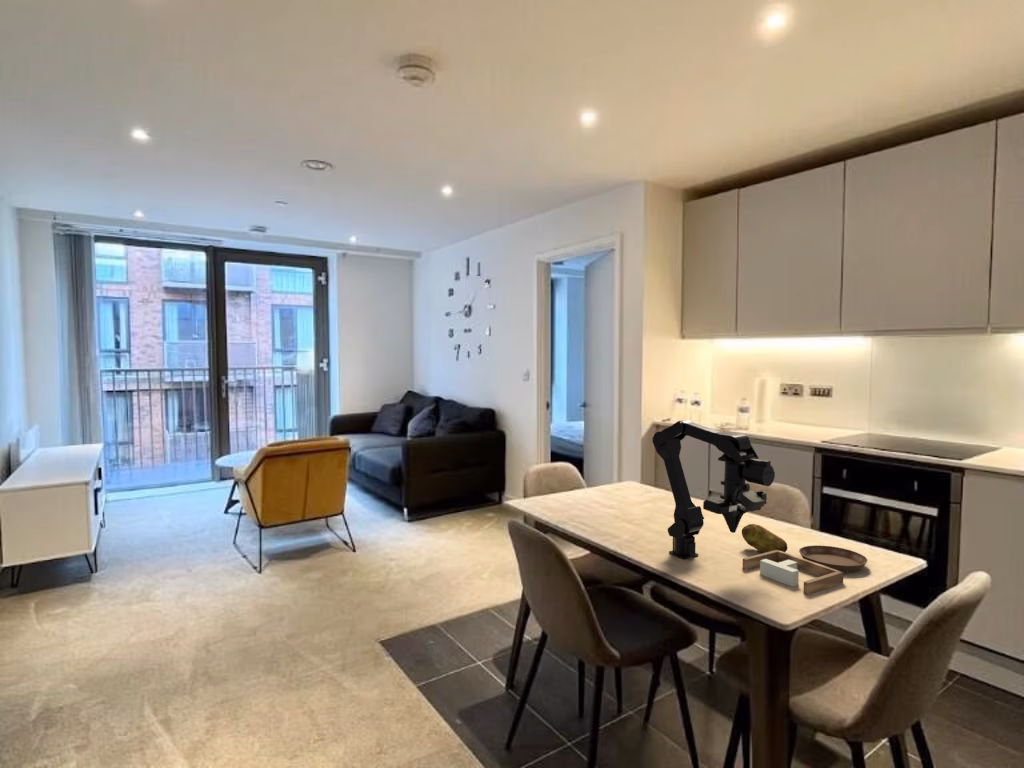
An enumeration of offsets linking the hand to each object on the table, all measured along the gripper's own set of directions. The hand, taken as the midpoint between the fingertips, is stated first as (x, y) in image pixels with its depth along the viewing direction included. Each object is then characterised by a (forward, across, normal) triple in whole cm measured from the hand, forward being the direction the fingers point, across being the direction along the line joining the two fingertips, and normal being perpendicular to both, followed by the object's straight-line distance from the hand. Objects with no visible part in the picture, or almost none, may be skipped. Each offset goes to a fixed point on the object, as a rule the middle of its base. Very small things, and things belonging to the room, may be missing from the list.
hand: (732, 532), depth 163 cm
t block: (+11, +10, -10) cm, 18 cm away
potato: (+12, +22, +7) cm, 26 cm away
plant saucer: (+12, +31, -10) cm, 35 cm away
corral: (+11, +12, -10) cm, 19 cm away
